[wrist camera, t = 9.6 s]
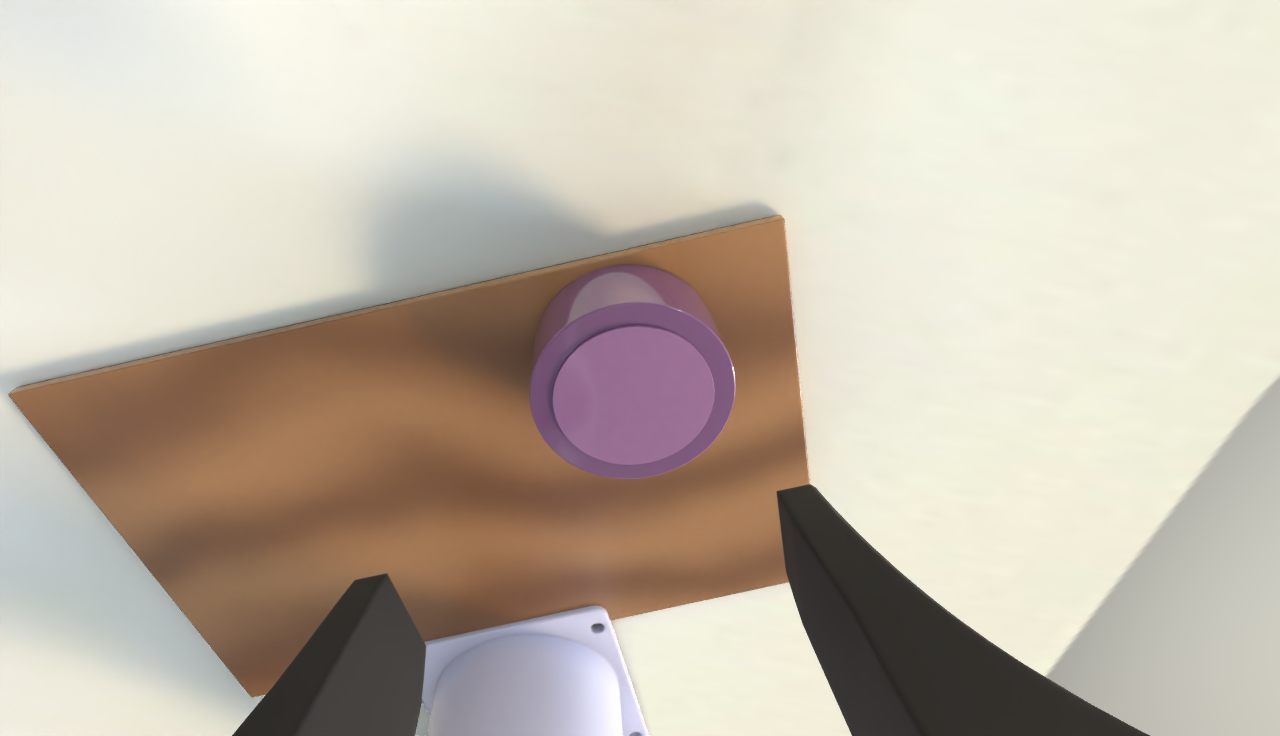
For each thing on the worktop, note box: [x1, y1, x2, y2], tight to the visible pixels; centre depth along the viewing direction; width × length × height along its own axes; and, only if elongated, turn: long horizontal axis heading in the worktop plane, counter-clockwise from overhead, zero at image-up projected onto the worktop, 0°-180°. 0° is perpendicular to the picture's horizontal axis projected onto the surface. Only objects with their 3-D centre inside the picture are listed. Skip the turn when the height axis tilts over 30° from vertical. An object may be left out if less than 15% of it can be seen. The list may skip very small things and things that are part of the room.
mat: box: [8, 215, 810, 697], centre depth 22 cm, size 14×22×1 cm, turn 102°
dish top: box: [529, 265, 736, 479], centre depth 19 cm, size 5×5×3 cm
